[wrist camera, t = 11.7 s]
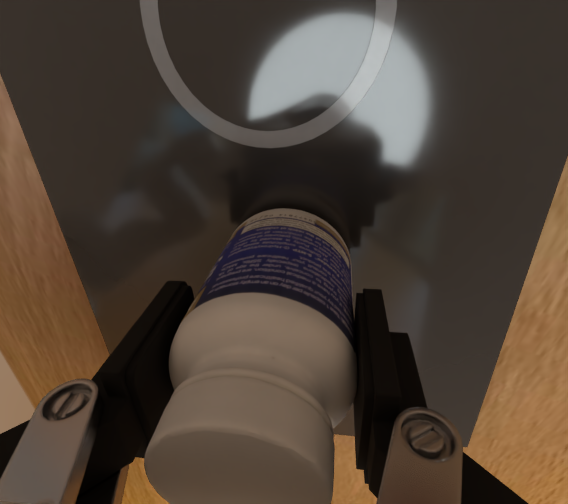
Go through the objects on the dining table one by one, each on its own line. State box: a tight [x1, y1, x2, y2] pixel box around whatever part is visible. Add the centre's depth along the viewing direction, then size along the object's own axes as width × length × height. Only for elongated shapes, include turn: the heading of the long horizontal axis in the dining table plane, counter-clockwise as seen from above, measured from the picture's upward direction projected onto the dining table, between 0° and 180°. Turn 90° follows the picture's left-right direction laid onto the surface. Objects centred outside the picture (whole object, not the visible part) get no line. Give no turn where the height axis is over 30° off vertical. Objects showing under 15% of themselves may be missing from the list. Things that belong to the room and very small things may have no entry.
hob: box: [0, 0, 568, 447], centre depth 15 cm, size 20×25×1 cm
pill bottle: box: [144, 208, 358, 504], centre depth 11 cm, size 5×5×9 cm
